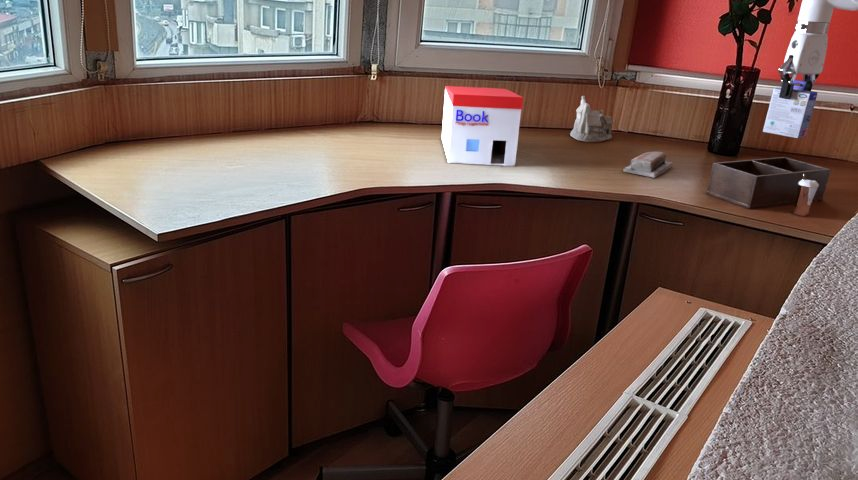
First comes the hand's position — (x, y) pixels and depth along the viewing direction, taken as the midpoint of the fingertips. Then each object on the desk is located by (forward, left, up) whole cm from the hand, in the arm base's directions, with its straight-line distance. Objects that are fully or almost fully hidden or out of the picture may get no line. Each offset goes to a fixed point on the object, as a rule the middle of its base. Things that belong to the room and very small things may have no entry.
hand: (793, 97), depth 194 cm
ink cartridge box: (0, 0, -10) cm, 10 cm away
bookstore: (+65, +58, -27) cm, 92 cm away
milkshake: (-17, +10, -27) cm, 33 cm away
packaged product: (+30, +17, -27) cm, 44 cm away
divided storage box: (-3, +5, -27) cm, 28 cm away
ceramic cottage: (+74, +3, -27) cm, 79 cm away
